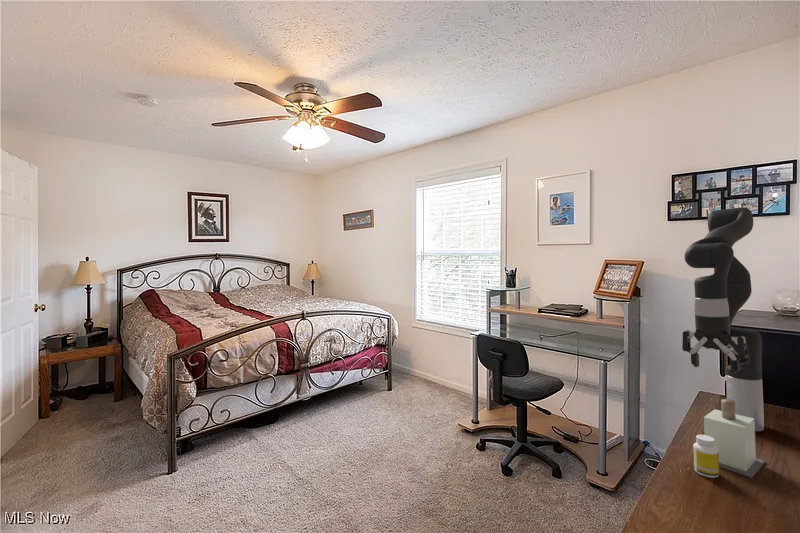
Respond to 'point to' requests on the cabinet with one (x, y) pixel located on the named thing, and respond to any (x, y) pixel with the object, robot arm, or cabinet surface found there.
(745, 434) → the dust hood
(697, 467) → the supplement bottle
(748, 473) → the mat
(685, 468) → the cabinet surface
